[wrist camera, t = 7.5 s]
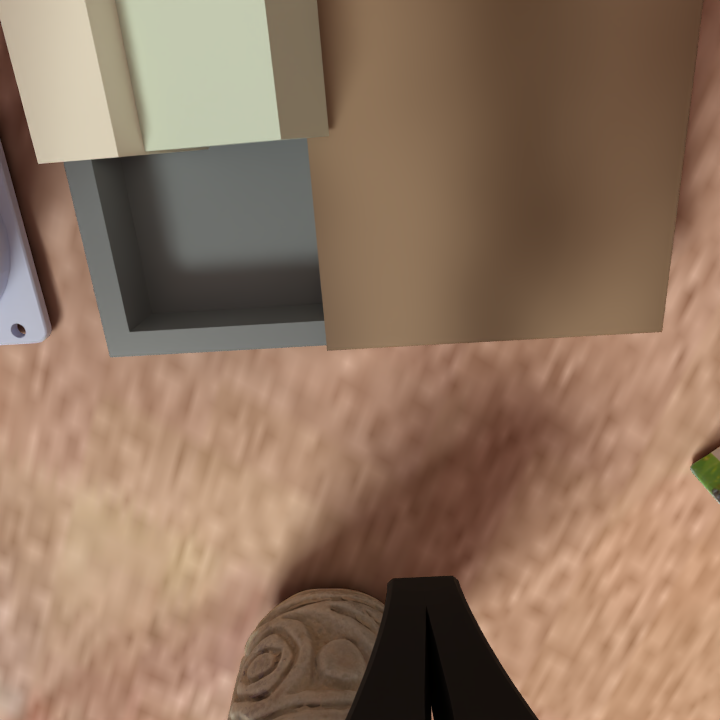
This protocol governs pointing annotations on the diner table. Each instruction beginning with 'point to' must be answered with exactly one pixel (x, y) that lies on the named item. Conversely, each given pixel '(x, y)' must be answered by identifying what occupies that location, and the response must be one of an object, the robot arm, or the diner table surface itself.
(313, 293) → the box
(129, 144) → the tile
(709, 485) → the syrup box
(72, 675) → the diner table surface
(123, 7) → the tile
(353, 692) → the carving
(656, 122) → the board
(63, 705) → the diner table surface
